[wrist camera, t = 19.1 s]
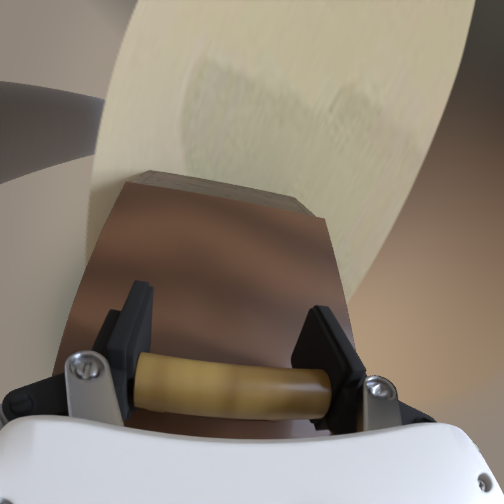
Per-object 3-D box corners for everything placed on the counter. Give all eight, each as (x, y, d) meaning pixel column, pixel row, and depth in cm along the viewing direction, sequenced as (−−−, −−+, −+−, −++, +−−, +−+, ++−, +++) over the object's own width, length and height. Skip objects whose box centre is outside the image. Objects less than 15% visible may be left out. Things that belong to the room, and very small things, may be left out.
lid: (362, 457, 11) (434, 437, 8) (47, 434, 8) (-9, 408, 5) (320, 225, 22) (349, 173, 19) (125, 189, 20) (127, 126, 16)
